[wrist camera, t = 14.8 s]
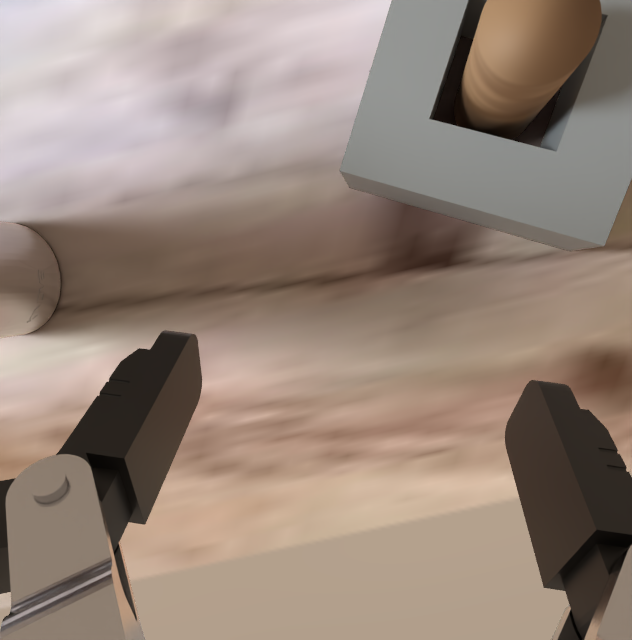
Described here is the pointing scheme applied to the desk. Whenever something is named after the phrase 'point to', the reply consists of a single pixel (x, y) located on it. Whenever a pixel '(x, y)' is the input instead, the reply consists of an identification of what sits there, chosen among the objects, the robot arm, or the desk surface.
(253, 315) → the desk surface
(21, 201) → the desk surface
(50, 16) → the desk surface
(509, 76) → the peg
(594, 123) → the socket block
